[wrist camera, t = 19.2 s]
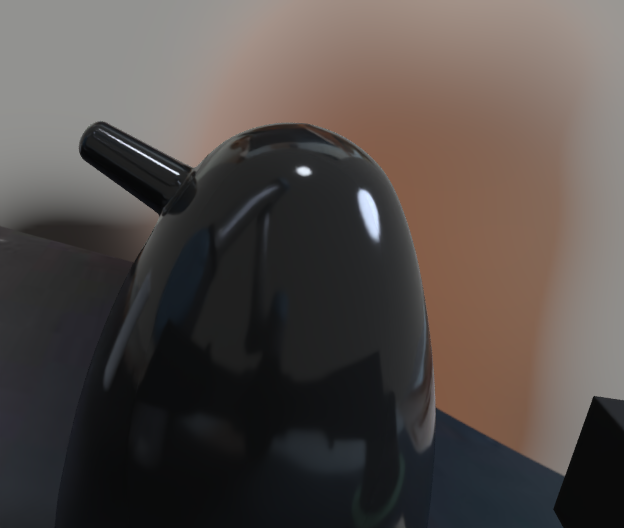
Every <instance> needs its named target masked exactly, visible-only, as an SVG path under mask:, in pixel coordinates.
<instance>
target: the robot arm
mask: <svg viewBox="0 0 624 528" xmlns="http://www.w3.org/2000/svg"><path fill="white" fill-rule="evenodd" d="M553 510H554V511H555V513H556V515H557V517H558V519H559V520H560V522H561V524H562V526H563V528H624V400H617V399H611V398H604V397H597V396H594V397H593V399H592V402H591V405H590V408H589V411H588V413H587V416H586V419H585V422H584V425H583V427H582V430H581V433H580V436H579V439H578V441H577V444H576V447H575V450H574V453H573V455H572V458H571V461H570V464H569V467H568V469H567V472H566V475H565V478H564V481H563V484H562V486H561V489H560V492H559V495H558V498H557V500H556V503H555V506H554V509H553Z"/></svg>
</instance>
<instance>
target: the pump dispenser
mask: <svg viewBox="0 0 624 528" xmlns="http://www.w3.org/2000/svg"><path fill="white" fill-rule="evenodd" d="M79 152H80V155H81V157H82V158H83V159H84V160H85V161H86V162H88V163H89V164H90V165H92V166H93V167H95V168H96V169H97V170H99V171H100V172H101V173H103V174H104V175H106V176H107V177H109V178H110V179H111V180H113V181H114V182H115V183H117V184H118V185H120V186H121V187H122V188H124V189H125V190H126V191H128V192H129V193H131V194H132V195H134V196H135V197H136V198H138V199H139V200H140V201H142V202H143V203H145V204H146V205H147V206H149V207H150V208H152V209H153V210H154V211H155V212H157V213H158V214H159V220H158V222H157V224H156V226H155V227H154V229H153V231H152V233H151V235H150V236H149V238H148V240H147V242H146V243H145V245H144V247H143V248H142V250H141V252H140V253H139V255H138V256H137V258H136V260H135V262H134V263H133V265H132V267H131V269H130V271H129V273H128V275H127V277H126V279H125V281H124V283H123V285H122V287H121V289H120V291H119V293H118V295H117V297H116V300H115V302H114V304H113V306H112V309H111V311H110V313H109V316H108V318H107V321H106V323H105V325H104V328H103V330H102V333H101V336H100V338H99V341H98V343H97V346H96V349H95V352H94V354H93V357H92V360H91V363H90V366H89V369H88V372H87V375H86V378H85V381H84V385H83V388H82V391H81V395H80V398H79V402H78V406H77V409H76V413H75V417H74V421H73V426H72V430H71V434H70V439H69V444H68V448H67V453H66V458H65V462H64V467H63V472H62V477H61V482H60V488H59V494H58V501H57V509H56V520H55V528H427V526H428V518H429V510H430V501H431V491H432V481H433V469H434V455H435V386H434V385H435V384H434V370H433V358H432V348H431V339H430V331H429V323H428V316H427V310H426V303H425V297H424V291H423V287H422V280H421V275H420V270H419V265H418V261H417V256H416V252H415V248H414V244H413V241H412V237H411V233H410V230H409V227H408V224H407V221H406V218H405V215H404V212H403V209H402V207H401V204H400V202H399V199H398V197H397V194H396V192H395V190H394V188H393V186H392V184H391V182H390V181H389V179H388V177H387V176H386V174H385V173H384V171H383V170H382V169H381V167H380V166H379V165H378V164H377V163H376V162H375V161H374V160H373V159H372V158H371V157H370V156H369V155H368V154H367V153H366V152H365V151H363V150H362V149H361V148H360V147H358V146H357V145H356V144H354V143H353V142H351V141H350V140H348V139H346V138H345V137H343V136H340V135H339V134H337V133H335V132H332V131H330V130H327V129H324V128H321V127H318V126H314V125H310V124H304V123H276V124H269V125H264V126H260V127H256V128H253V129H250V130H247V131H244V132H242V133H239V134H237V135H235V136H233V137H231V138H230V139H228V140H226V141H225V142H223V143H222V144H221V145H219V146H218V147H217V148H216V149H215V150H213V151H212V152H211V153H210V154H209V155H207V157H206V158H205V159H204V160H203V161H202V162H201V163H200V164H199V165H198V166H197V167H195V168H192V167H190V166H188V165H186V164H184V163H182V162H180V161H179V160H177V159H175V158H173V157H171V156H169V155H167V154H165V153H163V152H161V151H159V150H158V149H156V148H154V147H152V146H150V145H148V144H146V143H144V142H142V141H140V140H139V139H137V138H135V137H133V136H131V135H129V134H127V133H125V132H123V131H122V130H120V129H117V128H116V127H114V126H112V125H110V124H108V123H106V122H103V121H99V122H95V123H93V124H91V125H90V126H89V127H88V128H87V129H86V130H85V132H84V133H83V135H82V137H81V139H80V142H79Z"/></svg>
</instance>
